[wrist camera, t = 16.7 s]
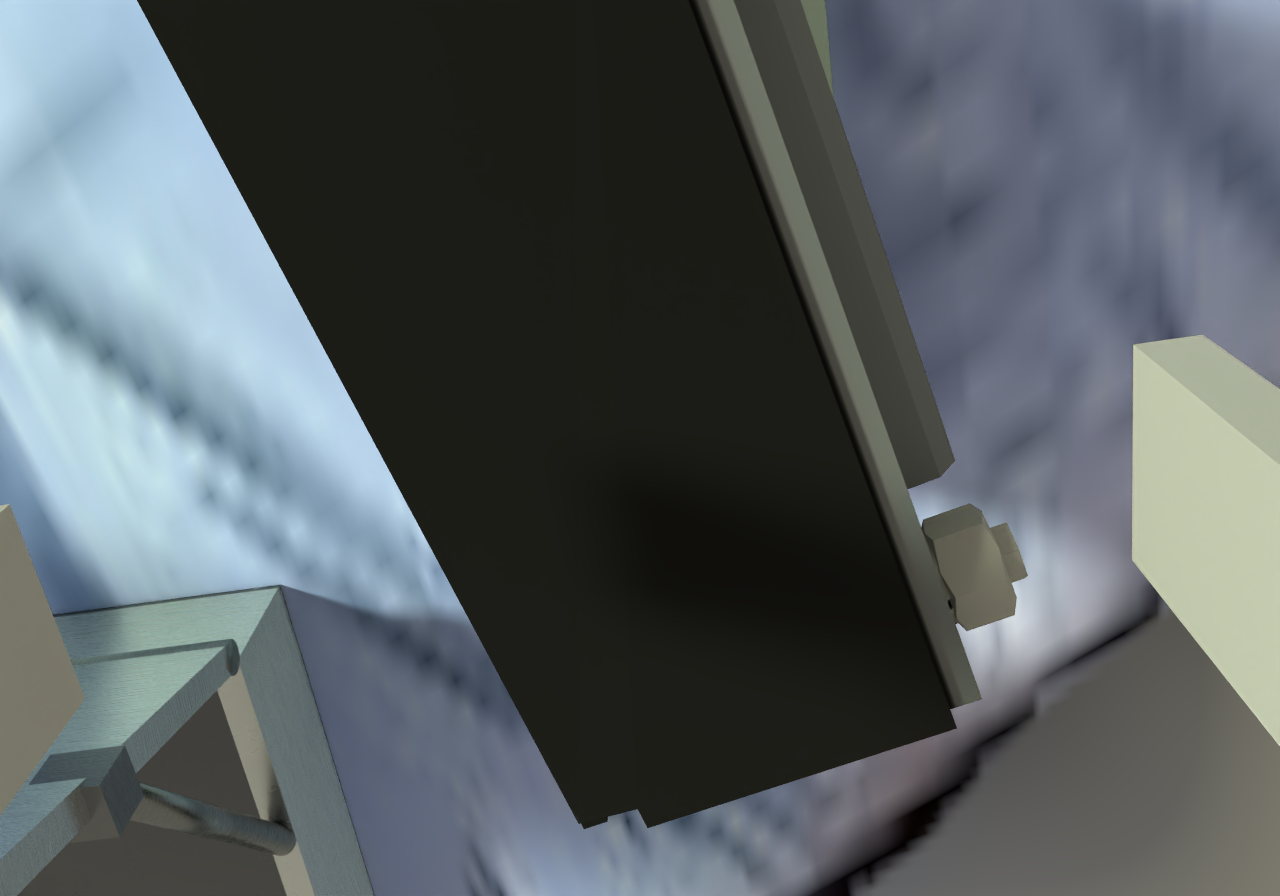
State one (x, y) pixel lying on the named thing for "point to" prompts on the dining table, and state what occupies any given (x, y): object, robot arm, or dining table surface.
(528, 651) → the electrical component
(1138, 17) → the dining table surface
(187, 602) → the case
